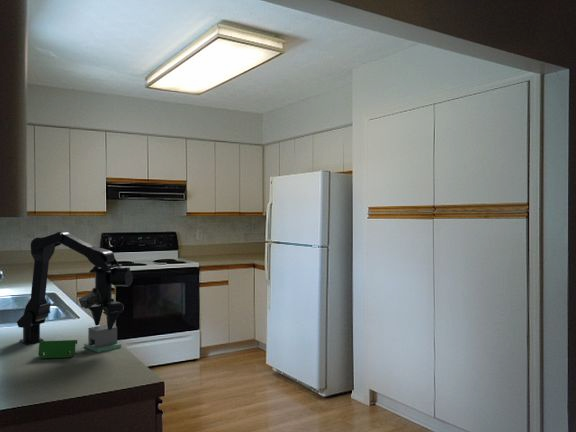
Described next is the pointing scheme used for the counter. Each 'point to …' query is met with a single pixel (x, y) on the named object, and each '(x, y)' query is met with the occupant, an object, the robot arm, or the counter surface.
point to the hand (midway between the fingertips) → (103, 327)
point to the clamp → (57, 348)
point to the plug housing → (102, 336)
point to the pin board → (103, 348)
